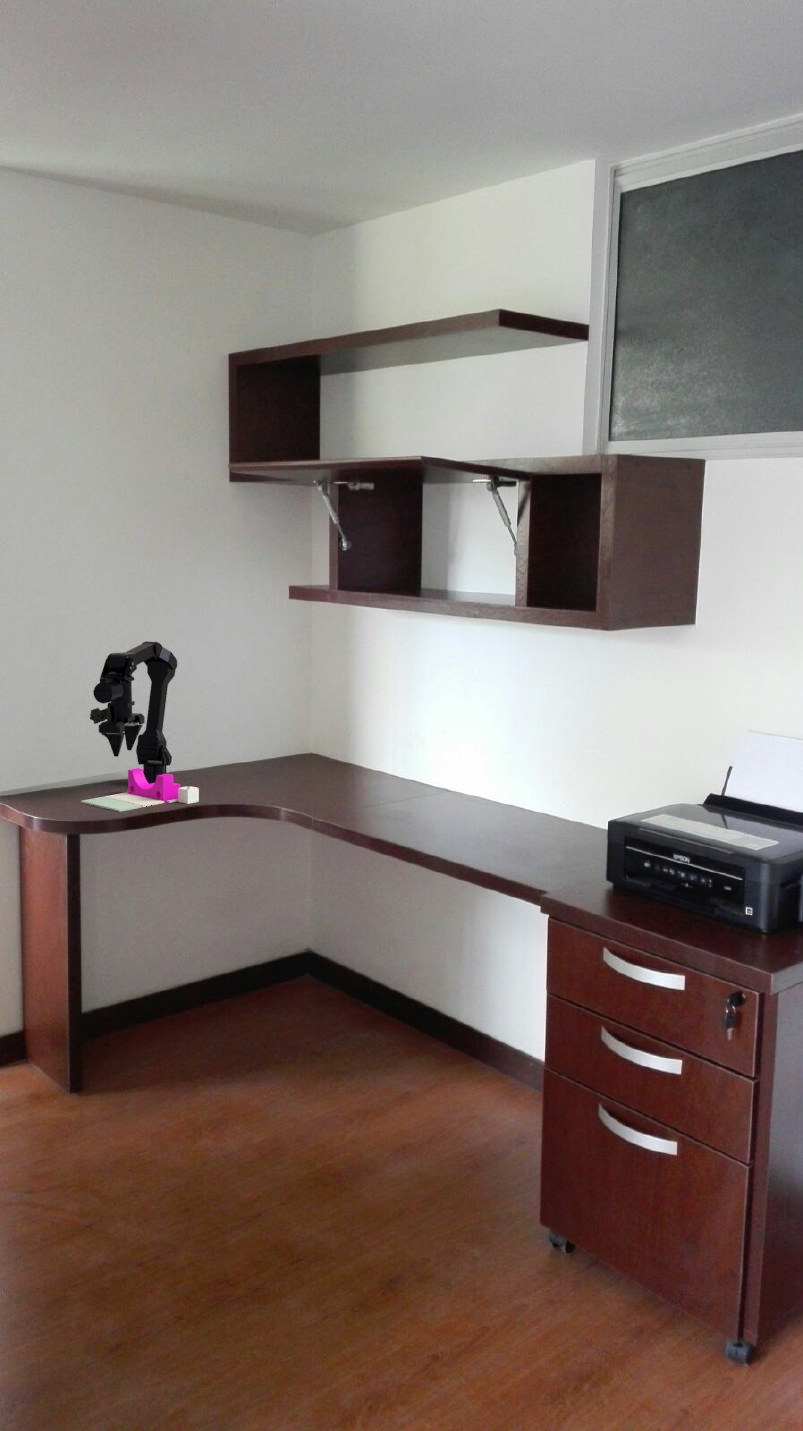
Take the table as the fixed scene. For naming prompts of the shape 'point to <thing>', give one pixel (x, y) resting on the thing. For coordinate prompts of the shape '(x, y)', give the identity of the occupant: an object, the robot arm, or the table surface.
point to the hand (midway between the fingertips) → (122, 753)
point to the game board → (124, 802)
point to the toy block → (152, 786)
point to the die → (188, 794)
